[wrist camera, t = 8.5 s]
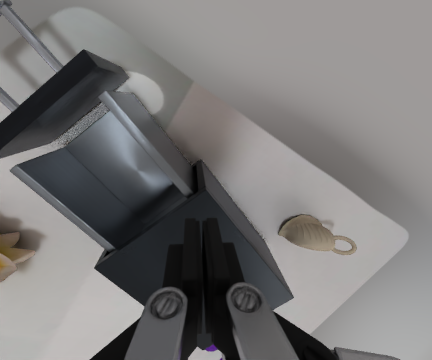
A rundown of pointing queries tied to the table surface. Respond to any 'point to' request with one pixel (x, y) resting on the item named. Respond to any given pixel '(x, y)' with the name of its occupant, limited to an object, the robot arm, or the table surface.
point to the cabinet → (174, 234)
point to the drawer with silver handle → (94, 148)
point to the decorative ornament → (312, 235)
